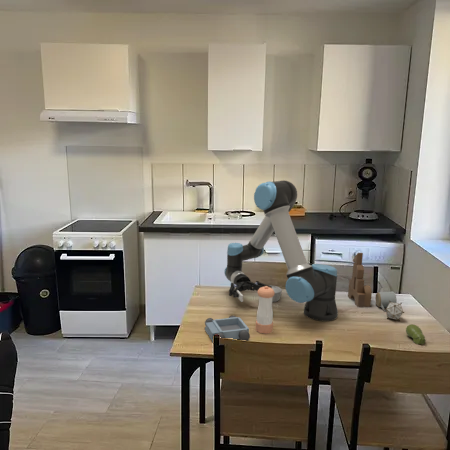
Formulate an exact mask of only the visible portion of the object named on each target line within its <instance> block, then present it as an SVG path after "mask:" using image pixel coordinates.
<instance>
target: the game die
mask: <svg viewBox="0 0 450 450" xmlns="http://www.w3.org/2000/svg"><path fill="white" fill-rule="evenodd" d="M389 302H390V303H389V305H388V306H387V308H386V307H385V310H386V311H385V312H386V316H387V318H386V319H387V320H388V319H393V320H397V321H398V322H401V320H400V318H401V317H402V316H403V314H404V313H405V312H406V311H404V310H403V307H402V303H403V302H400V303H398V302H397V303H393V302H391V301H390V300H389Z"/></svg>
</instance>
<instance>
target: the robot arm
mask: <svg viewBox="0 0 450 450" xmlns="http://www.w3.org/2000/svg"><path fill="white" fill-rule="evenodd" d="M297 198H298V190H297V188H296V186H295V184H293V183H292V182H291V181H288V180H284V179H283V180H278V181H277V180H276V181H275V180H274V181H266V182H262V183H260V184H259V185H258V186H257V187H256V188H255V192H254V194H253V200H254V204H255V206H256V207H257V208H258V209H259V210H261V211H263V214H264V217H263V219H262V221H261V223H260V224H259V226H258V227H257V229H256V230H255V232H254V233H253V236H252V237H251V239H250V240H249V241H248V243H247V244H244V245H243V244H242V243H239V242H231V243H229V244H228V245H227V251H226V254H227V257H226V258H227V259H226V267H225V268H224V276H225V277H226V279H227V280H228V281H229V282H230V287H229V290H228V296H231V297H232V296H233V297H232V298H237V299H238V300H239V302H241V303H242V302H244V295H243V293H242V292H244V291H251V292H255V291H257V292H258V289H259V288H261V287H265V286H268V287H270V288H272V287H271V286H269V285H270V284H265V283H262V282H260V281H258V280H256V281H255V282H253V281H252V280H251V279H250V277H249V276H247V275H246V274H245V273H244V272H243V262H246V261H248V260H253V259H256V258H259V257H261V256H262V255H263V254H264V251H265V249H264V247H265V245H266V244H267V243H268V241H269V240H270V238H271V236H272V235H273V233H274V235H275V237H276V239H277V242H278V245H279V248H280V250H281V253H282V256H283V258H284V262H285V264H286V268H287V271H286V274H285V275H286V278H287V280H286V281H285V291H286V293H287V295H288V297H289V298H290V299H291V300H292V301H294V302H296V303H298V304H301V303H302V304H303V303H305V304H304V307H303V314H304V316H305V317H306V318H309V319H311V320H314V321H320V322H331V321H335V320H336V319H337V318H338V316H339V310H338V306H337V304H336V293H337V280H338V269H337V268H336V267H334V266H331V265H329V264H324V263H323V264H322V263H313V264H309V262H307V258H306V256H305V254H304V250H303V248H302V246H301V245H302V244H301V242H300V240H299V236H298V234H297V232H296V229H295V226H294V223H293V221H292V218H291V215H290V211H291V210H292V209H293V208H294V205H295V204H296V202H297Z"/></svg>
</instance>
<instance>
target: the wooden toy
mask: <svg viewBox="0 0 450 450" xmlns="http://www.w3.org/2000/svg"><path fill="white" fill-rule="evenodd" d="M363 255H364V253H363V252H357V253H356V255H355V256H354V257H353V259H352V262H353V263H352V274H351V278H350V279H348V280H349V281H348V292H347V297H348V298H349V299H350V300H354V305H355V306H356V307H357V308H366V307H367V308H368V307H369V308H370V307H371V305H372V295H373V294H372V293H373V291H372V288H371V286H370V285H368V284H367V285H365V279H364V274H365V267H364V265H363Z"/></svg>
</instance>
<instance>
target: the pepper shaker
mask: <svg viewBox="0 0 450 450" xmlns="http://www.w3.org/2000/svg"><path fill="white" fill-rule="evenodd" d="M274 294H275V292H274V290H273V289H272V288H270V287H268V286H265V287H261V288H259V289H258V291H257V295H258V307H257V312H256V321H255V325H254V326H255V327H254V328H255V331H256V332H257V333H260V334H271V333H273V330H274V322H273V321H274V320H273V319H274V317H273V316H274V313H273V302H272V297H273V296H274Z"/></svg>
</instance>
